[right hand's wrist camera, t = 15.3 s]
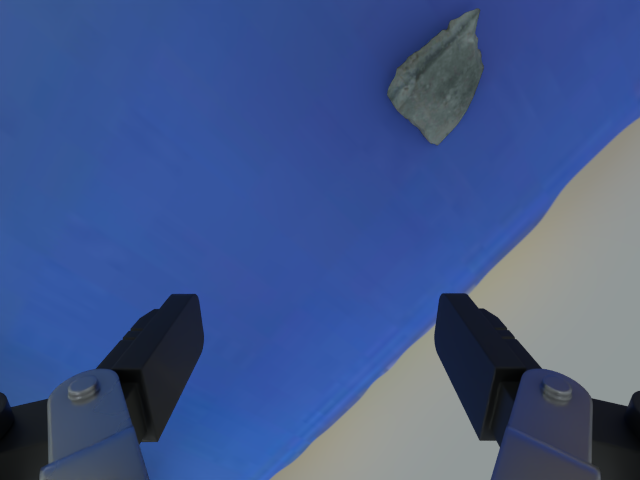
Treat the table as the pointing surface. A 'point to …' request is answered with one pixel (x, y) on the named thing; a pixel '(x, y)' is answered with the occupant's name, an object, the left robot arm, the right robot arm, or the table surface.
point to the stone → (440, 79)
